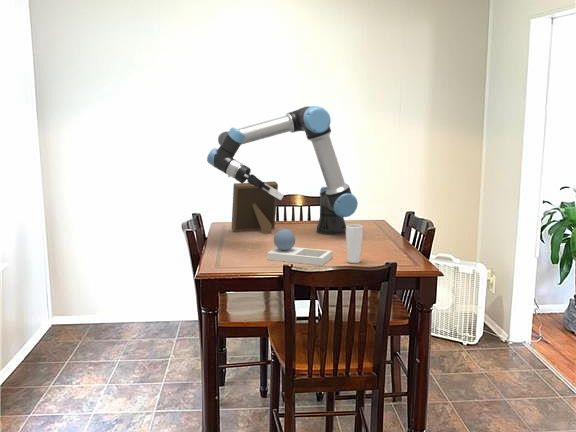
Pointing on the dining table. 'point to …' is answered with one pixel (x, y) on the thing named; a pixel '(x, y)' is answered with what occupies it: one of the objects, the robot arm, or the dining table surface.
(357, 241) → the drinking glass
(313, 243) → the dining table surface
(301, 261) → the white tray
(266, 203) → the photo frame
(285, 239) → the ball
